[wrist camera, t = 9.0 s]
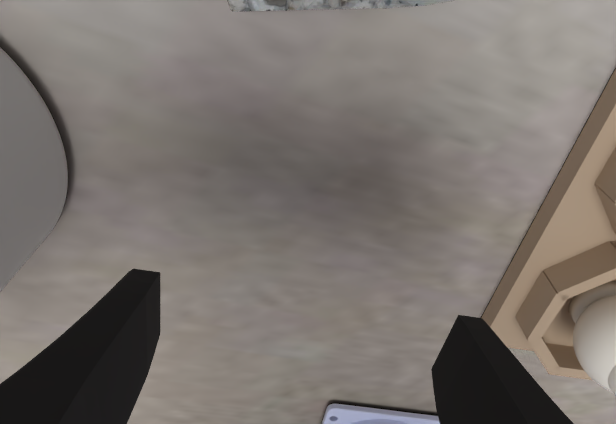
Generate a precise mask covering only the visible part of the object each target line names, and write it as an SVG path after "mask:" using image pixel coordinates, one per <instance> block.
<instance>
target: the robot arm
mask: <svg viewBox="0 0 616 424" xmlns="http://www.w3.org/2000/svg"><path fill="white" fill-rule="evenodd" d="M159 336H160V272H153V271H146V270H139V269H132V270H131V271H129V272H128V273H127V274H126V275H125V276H124V277H123V278H122V279H121V280H120V281H119V282H118V283H117V284H116V285H115V286H114V287H113V288H112V289H111V290H110V291H109V292H108V293H107V294H106V295H105V296H104V297H103V298H102V299H101V300H100V301H99V302H98V303H97V304H95V305H94V306H93V307H92V308H91V309H90V310H89V311H88V312H87V313H86V314H85V315H84V316H82V317H81V318H80V319H79V320H78V321H77V322H76V323H75V324H74V325H72V326H71V327H70V328H69V329H68V330H67V331H66V332H65V333H63V334H62V335H61V336H60V337H59V338H58V339H56V340H55V341H54V342H53V343H52V344H50V345H49V346H48V347H47V348H45V349H44V350H43V351H42V352H41V353H39V354H38V355H37V356H36V357H34V358H33V359H32V360H31V361H30V362H28V363H27V364H26V365H25V366H23V367H22V368H21V369H20V370H18V371H17V372H16V373H14V374H13V375H12V376H10V377H9V378H8V379H6V380H5V381H4V382H2V383H1V384H0V424H127V422H128V419H129V417H130V415H131V412H132V410H133V408H134V405H135V403H136V401H137V398H138V396H139V394H140V391H141V389H142V387H143V384H144V382H145V380H146V377H147V375H148V372H149V369H150V366H151V362H152V359H153V356H154V353H155V349H156V346H157V342H158V339H159ZM432 378H433V387H434V395H435V402H436V409H437V414H438V416H433V415H425V414H417V413H409V412H401V411H393V410H385V409H376V408H368V407H360V406H352V405H344V404H330V405H329V406H328V407H327V409H326V412H325V415H324V418H323V421H322V424H573V422H572V421H571V420H570V419H569V418H568V417H567V416H566V415H565V414H564V413H563V412H562V411H561V409H560V408H559V407H558V406H557V405H556V404H555V403H554V402H553V401H552V399H551V398H550V397H549V396H548V395H547V394H546V393H545V392H544V390H543V389H542V388H541V387H540V386H539V385H538V383H537V382H536V381H535V380H534V379H533V378H532V376H531V375H530V374H529V373H528V372H527V371H526V369H525V368H524V367H523V366H522V365H521V363H520V362H519V361H518V360H517V359H516V357H515V356H514V355H513V354H512V353H511V351H510V350H509V349H508V348H507V347H506V345H505V344H504V343H503V342H502V341H501V339H500V338H499V337H498V336H497V335H496V333H495V332H494V331H493V330H492V329H491V328H490V326H489V325H488V324H487V323H486V322H485V321H484V320H483V319H482V318H476V317H469V316H462V315H458V317H457V319H456V321H455V323H454V325H453V327H452V329H451V331H450V333H449V335H448V337H447V339H446V341H445V343H444V345H443V347H442V349H441V351H440V353H439V355H438V357H437V359H436V361H435V363H434V365H433V367H432Z"/></svg>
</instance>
